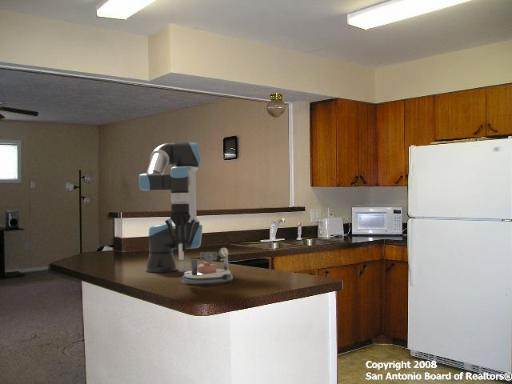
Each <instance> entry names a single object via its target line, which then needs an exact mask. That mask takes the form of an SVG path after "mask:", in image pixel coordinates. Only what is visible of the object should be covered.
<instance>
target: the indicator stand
mask: <svg viewBox="0 0 512 384" xmlns="http://www.w3.org/2000/svg"><path fill="white" fill-rule="evenodd" d="M218 254H219V257H220V259H219V260H220V261H221V262H222V261H223V269H225V270H229V250H228V248H226V247H222V248H220V249H219V252H218Z"/></svg>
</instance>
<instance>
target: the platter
mask: <svg viewBox="0 0 512 384" xmlns="http://www.w3.org/2000/svg"><path fill="white" fill-rule="evenodd" d="M230 274H231V270H229V269H228V270H225V269H224V268H216V272H215V273H206V274H203V273H198V258H191V270H187V271H185V272H183V276H184V277H185V278H188V279H218V278H228V277H230Z"/></svg>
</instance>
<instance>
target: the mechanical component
mask: <svg viewBox="0 0 512 384" xmlns="http://www.w3.org/2000/svg"><path fill="white" fill-rule="evenodd" d="M217 256H218V253H217V252H213V251H205V252H204V251H201V252H199V258H200V260H201V261H205V262H210V264H212V262H213V261H217V259H218V257H217Z"/></svg>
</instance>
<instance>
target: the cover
mask: <svg viewBox="0 0 512 384" xmlns="http://www.w3.org/2000/svg"><path fill="white" fill-rule="evenodd" d="M216 269H217V264H215V263H211V264H210V262H206V261H203V263H201V264H197V270H198V273H203V274H206V273H215V272H216Z"/></svg>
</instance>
